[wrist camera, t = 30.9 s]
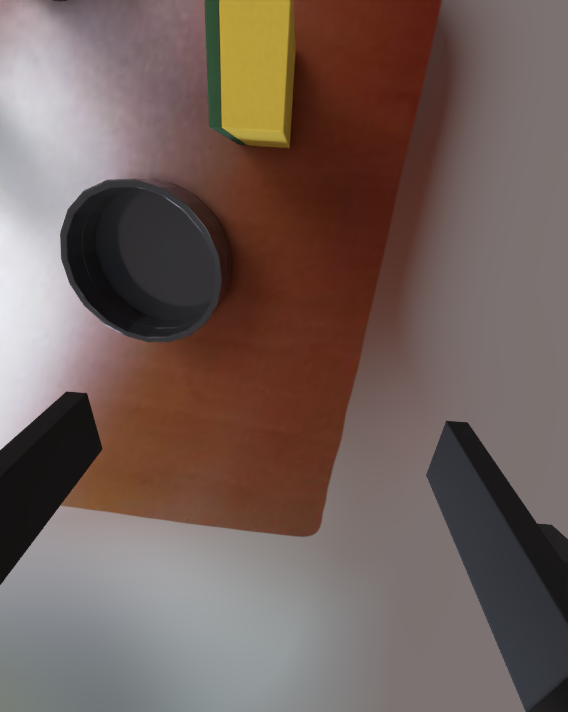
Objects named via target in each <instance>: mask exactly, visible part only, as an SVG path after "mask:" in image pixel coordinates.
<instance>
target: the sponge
mask: <svg viewBox="0 0 568 712" xmlns="http://www.w3.org/2000/svg"><path fill="white" fill-rule="evenodd" d="M205 23H206V51H207V78H208V106H209V127H210V128H212V129H214V130H215V131H217V132H219V133H220V134H222V135H224V136H225V137H227V138H229V139H230V140H232V141H234V142H236V143H237V144H239V145H251V146H265V147H279V148H290V134H291V118H292V102H293V85H294V69H295V53H296V47H295V28H294V8H293V0H205Z"/></svg>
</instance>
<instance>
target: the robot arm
mask: <svg viewBox="0 0 568 712" xmlns="http://www.w3.org/2000/svg"><path fill="white" fill-rule="evenodd" d="M101 450H102V446H101V442H100V438H99V435H98V431H97V428H96V424H95V420H94V417H93V413H92V410H91V406H90V402H89V399H88V395H87V393H77V392H66V393H64V394H63V395H62V396H61V397H60V398H59V399H58V400H57V401H55V402H54V403H53V404H52V405H51V406H50V407H49V408H47V409H46V410H45V411H44V412H43V413H42V414H41V415H40V416H38V417H37V418H36V419H35V420H34V421H33V422H32V423H31V424H29V425H28V426H27V427H26V428H25V429H24V430H23V431H21V432H20V433H19V434H18V435H17V436H16V437H15V438H14V439H12V440H11V441H10V442H9V443H8V444H7V445H6V446H5V447H3V448H2V449H1V450H0V585H1V583H2V582H3V581H4V579H5V578H6V577H7V575H8V574H9V573H10V571H11V570H12V569H13V567H14V566H15V565H16V563H17V562H18V561H19V560H20V558H21V557H22V556H23V554H24V553H25V552H26V550H27V549H28V548H29V546H30V545H31V543H32V542H33V541H34V539H35V538H36V537H37V536H38V534H39V533H40V532H41V530H42V529H43V527H44V526H45V525H46V523H47V522H48V521H49V520H50V518H51V517H52V516H53V514H54V513H55V512H56V510H57V509H58V508H59V506H60V505H61V504H62V502H63V501H64V500H65V498H66V497H67V496H68V494H69V493H70V492H71V490H72V489H73V488H74V486H75V485H76V484H77V482H78V481H79V480H80V478H81V477H82V476H83V474H84V473H85V472H86V470H87V469H88V468H89V466H90V465H91V464H92V462H93V461H94V460H95V458H96V457H97V456H98V454H99V453H100V452H101ZM426 476H427V478H428V480H429V483H430V485H431V487H432V490H433V492H434V495H435V497H436V499H437V502H438V504H439V507H440V509H441V511H442V514H443V516H444V519H445V521H446V523H447V525H448V528H449V530H450V533H451V535H452V537H453V540H454V542H455V544H456V547H457V549H458V552H459V554H460V556H461V559H462V561H463V564H464V566H465V568H466V571H467V573H468V575H469V578H470V580H471V583H472V585H473V587H474V590H475V592H476V594H477V597H478V599H479V602H480V604H481V606H482V609H483V611H484V613H485V616H486V618H487V620H488V623H489V625H490V628H491V630H492V633H493V635H494V637H495V640H496V642H497V644H498V647H499V649H500V651H501V654H502V656H503V659H504V661H505V663H506V666H507V668H508V671H509V673H510V675H511V678H512V680H513V683H514V685H515V687H516V690H517V692H518V694H519V697H520V699H521V701H522V704H523V706H524V709H525V711H526V712H568V539H567V538H566V537H565V536H563V535H562V534H561V533H560V532H559V531H558V530H557V529H556V528H554V527H553V526H552V525H547V524H537V523H536V521H535V520H534V519H533V517H532V516H531V514H530V513H529V511H528V510H527V508H526V507H525V505H524V504H523V503H522V501H521V500H520V498H519V497H518V495H517V494H516V492H515V491H514V490H513V488H512V487H511V485H510V484H509V482H508V481H507V479H506V478H505V476H504V475H503V473H502V472H501V470H500V469H499V467H498V466H497V465H496V463H495V462H494V460H493V459H492V457H491V456H490V454H489V453H488V452H487V450H486V449H485V447H484V446H483V444H482V443H481V441H480V440H479V438H478V437H477V435H476V434H475V432H474V431H473V430H472V428H471V427H470V426H469V424H468V423H467V422H454V421H453V422H452V421H446V423H445V426H444V428H443V431H442V434H441V437H440V439H439V442H438V445H437V447H436V450H435V453H434V455H433V458H432V461H431V464H430V467H429V469H428V472H427V474H426Z"/></svg>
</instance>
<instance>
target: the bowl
mask: <svg viewBox="0 0 568 712" xmlns="http://www.w3.org/2000/svg"><path fill="white" fill-rule="evenodd" d="M60 239H61V260H62V263H63V266H64V269H65V271H66V274H67V277H68V280H69V283H70V285H71V286H72V288H73V289H74V291H75V292H76V294H77V295H78V297H79V298H80V300H81V302H82V303H83V305H84V306H85V307H86V308H87V309H88V310H89V311H91V312H92V313H93V314H94V315H95V316H96V317H97V318H98V319H99V320H100V321H101V322H102V323H104V324H105V325H107V326H109V327H110V328H112V329H114V330H116V331H118V332H119V333H121V334H123V335H125V336H128V337H131V338H135V339H139V340H142V341H146V342H171V341H174V340H177V339H180V338H183V337H186V336H189V335H191V334H192V333H193V332H195V331H196V330H197V329H199V328H200V327H201V326H202V325H204V324H205V323H206V322H207V321H208V319H209V318H210V316H211V315H212V313H213V312H214V311H215V309H216V308H217V306H218V304H219V303H220V301H221V300H222V298H223V296H224V295H225V293H226V291H227V289H228V285H229V283H230V278H231V272H232V257H231V250H230V245H229V242H228V239H227V236H226V234H225V232H224V229H223V227H222V225H221V224H220V222H219V220H218V219H217V217H216V216H215V215H214V213H213V212H212V211H211V210H210V208H209V207H208V206H207V205H206V204H205V203H204V202H203V201H201V200H200V199H199V198H198V197H196V196H195V195H194V194H192V193H191V192H189V191H187V190H186V189H184V188H182V187H180V186H177V185H175V184H172V183H168V182H165V181H161V180H157V179H118V180H106V181H104V182H102V183H99V184H97V185H95V186H93V187H91V188H89V189H86V190H85V191H83V192H82V194H81V195H80V196H79V197H78V198H77V199H76V201H75V202H74V203H73V204H72V205H71V206H70V207H69V209H68V210H67V214H66V217H65V220H64V223H63V226H62V229H61V232H60Z"/></svg>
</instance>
